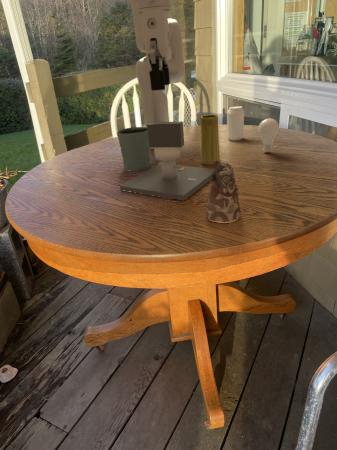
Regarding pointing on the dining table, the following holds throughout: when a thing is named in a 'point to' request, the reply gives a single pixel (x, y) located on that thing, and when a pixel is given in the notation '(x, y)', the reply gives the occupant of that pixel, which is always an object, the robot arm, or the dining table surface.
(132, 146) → the grey-green cup
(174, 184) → the post base
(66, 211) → the dining table surface
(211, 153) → the vase
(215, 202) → the figurine
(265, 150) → the lightbulb
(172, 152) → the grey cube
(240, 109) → the beverage can
